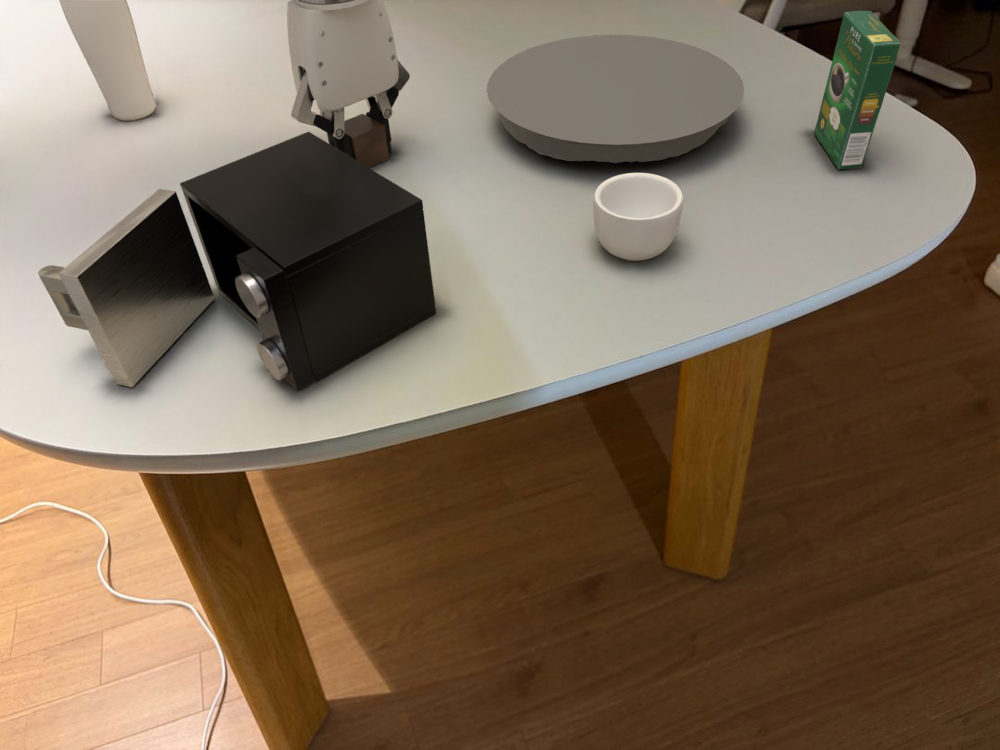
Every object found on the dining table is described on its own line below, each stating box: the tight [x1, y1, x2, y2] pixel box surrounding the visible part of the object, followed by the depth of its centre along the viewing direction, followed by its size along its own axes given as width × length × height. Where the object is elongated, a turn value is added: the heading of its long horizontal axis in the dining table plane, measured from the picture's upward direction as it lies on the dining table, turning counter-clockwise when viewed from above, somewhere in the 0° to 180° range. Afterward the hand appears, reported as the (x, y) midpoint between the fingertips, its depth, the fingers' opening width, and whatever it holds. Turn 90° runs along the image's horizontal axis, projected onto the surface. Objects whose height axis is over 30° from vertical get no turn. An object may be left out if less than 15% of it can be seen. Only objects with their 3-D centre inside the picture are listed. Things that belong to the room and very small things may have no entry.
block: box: [344, 113, 390, 169], centre depth 86 cm, size 4×4×4 cm
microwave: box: [179, 131, 437, 391], centre depth 65 cm, size 14×16×11 cm
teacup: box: [592, 172, 684, 262], centre depth 72 cm, size 10×8×5 cm
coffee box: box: [813, 10, 902, 170], centre depth 80 cm, size 8×3×13 cm, turn 2°
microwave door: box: [37, 188, 215, 388], centre depth 63 cm, size 7×12×11 cm, turn 162°
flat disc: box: [486, 34, 745, 164], centre depth 90 cm, size 28×28×4 cm
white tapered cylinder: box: [58, 0, 157, 122], centre depth 93 cm, size 7×7×15 cm
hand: (363, 157), depth 87 cm, fingers closed on block, 4 cm apart
